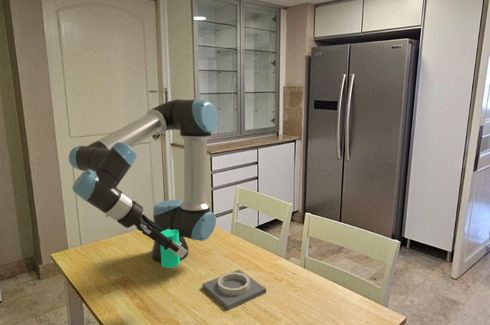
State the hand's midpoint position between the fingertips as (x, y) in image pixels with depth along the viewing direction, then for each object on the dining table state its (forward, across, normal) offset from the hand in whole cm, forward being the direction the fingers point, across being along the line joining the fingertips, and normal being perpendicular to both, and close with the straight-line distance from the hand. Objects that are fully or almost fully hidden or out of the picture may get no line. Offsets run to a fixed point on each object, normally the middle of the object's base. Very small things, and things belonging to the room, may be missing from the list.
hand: (181, 250), depth 114 cm
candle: (0, 0, -5) cm, 5 cm away
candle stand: (+25, +2, 0) cm, 25 cm away
